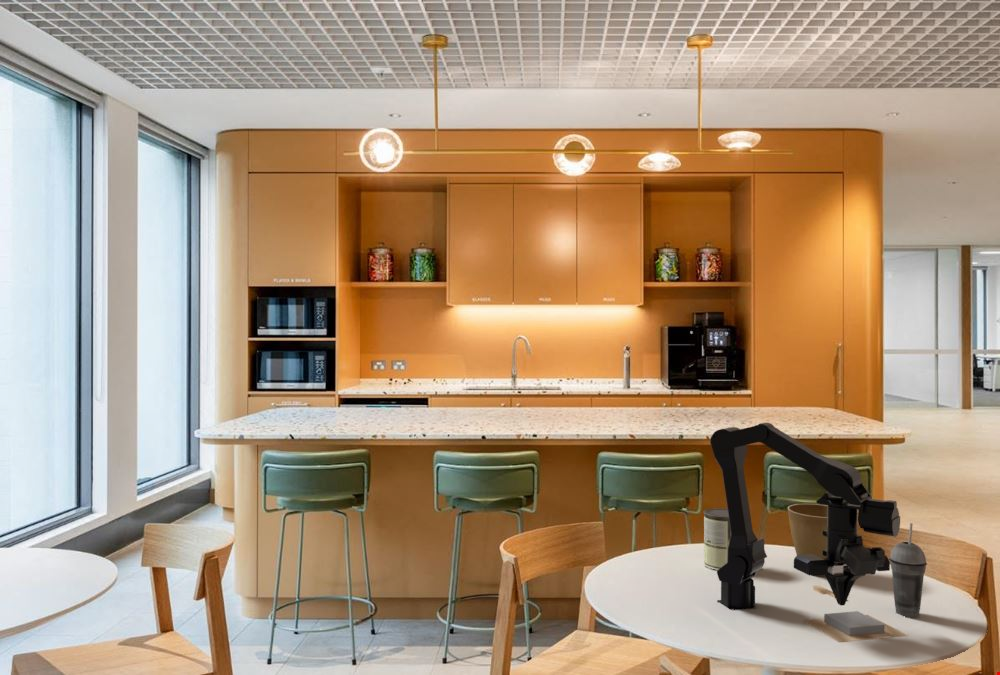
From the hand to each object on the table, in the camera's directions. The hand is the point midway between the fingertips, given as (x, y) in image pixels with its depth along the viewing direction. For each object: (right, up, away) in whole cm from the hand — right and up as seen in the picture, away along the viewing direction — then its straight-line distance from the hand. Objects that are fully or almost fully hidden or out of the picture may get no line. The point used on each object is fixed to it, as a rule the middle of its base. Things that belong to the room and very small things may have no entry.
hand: (841, 604), depth 161 cm
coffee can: (-11, -6, +46) cm, 47 cm away
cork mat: (+3, -6, +1) cm, 6 cm away
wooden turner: (+8, -6, +18) cm, 21 cm away
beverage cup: (+19, -6, +11) cm, 23 cm away
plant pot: (+12, -6, +41) cm, 43 cm away
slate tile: (-1, -4, 0) cm, 4 cm away
